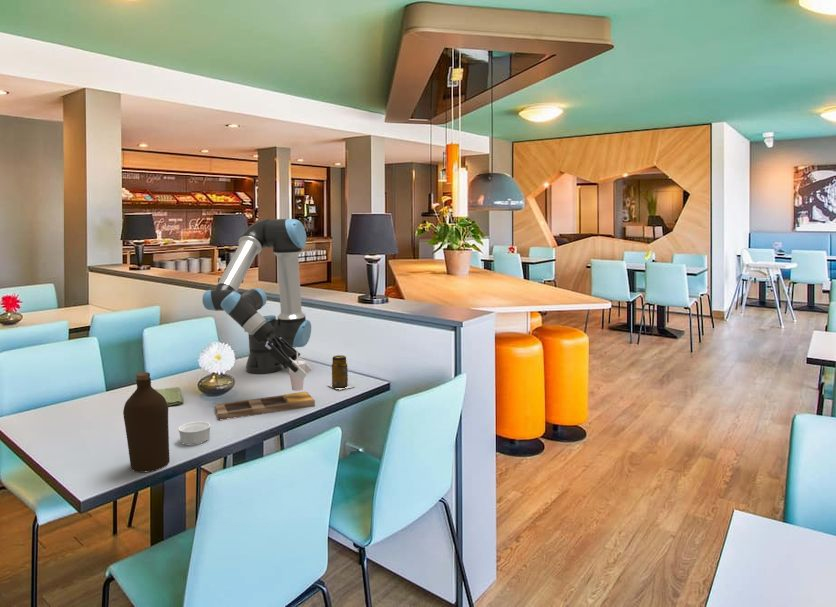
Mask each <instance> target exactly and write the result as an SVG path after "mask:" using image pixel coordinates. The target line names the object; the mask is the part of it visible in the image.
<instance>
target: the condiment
mask: <svg viewBox="0 0 836 607" xmlns="http://www.w3.org/2000/svg"><path fill="white" fill-rule="evenodd" d="M348 369H349V368H348V363H347V356H345V355H342V354H341V355H339V354H338V355H334V356H333V357H332V364H331V385H332V387H333V388H332V389H334V388H345V387H347V386H348V385H349V384H348V382H349V379H348V376H349V375H348V374H349V373H348ZM334 390H336V391H341V390H339V389H334Z"/></svg>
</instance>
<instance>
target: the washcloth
mask: <svg viewBox="0 0 836 607" xmlns="http://www.w3.org/2000/svg"><path fill="white" fill-rule="evenodd" d="M154 389H155V390H156V391H157V392H158V393H160V394H161V395H162V396H163V397H164V398H165V400H166V402H167V404H168V407H170V406H177V405H184V402H185V400H184V398H183V395H182V390H181V388H180V387H166V388H160V389H159V388H154Z"/></svg>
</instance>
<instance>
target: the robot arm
mask: <svg viewBox="0 0 836 607" xmlns="http://www.w3.org/2000/svg"><path fill="white" fill-rule="evenodd" d="M306 243H307V233H306V229H305V226H304V224H303V223H302V222H301V221H300V220H298V219H293V218H276V219H275V218H274V219H272V218H271V219H269V218H265V219H259V220H258V221H256V222H254V223H253V224H251V225H250V226H249V227H248V228H247V229H246V230H244V232H242V234H241V236H240V238H239V240H238V243H237V244H238V246H237V248H236V250H235V252H234V253H233V255H232V258H230V260H229V263H228V264H227V266H226V268H225V270H224V272H223V274H222V275H221V276H220V278H219V281H218V282H217V283H216V286H215V287H214V289H209V290H208V289H207V290H206V291H204V293H203V295H202V297H201V298H202V305H203V306H204V308H205V309H206V310H208V311H216V312H218V311H219V312H220V311H222V312H223V311H224V312H225V313H226V315H228V316H229V317H230V318H232V319H233V320H234V321H235V323H237V324H238V325H239V326H240V327H241V328H242V329H243V330H244V332H245V333H248V348H249V354H248V357H247V361H246V365H245V371H246V372H247V373H250V374H259V375H260V374H262V375H263V374H270V373H275V372H279V371H281V370H282V369H283V368H284V369H288V370H289V369H290V370H292V371H293V372H294V373H295V374H296V375H297V376H298V377H299V378H300V379H301V380H302V379H303V378H304V379H305V377H307V375H308V374H309V373H310V372H311V371H312V370H313V368H312V367H311V366H310V365H309V364H308V363H307V362H306V365H305V371H304V370H302V369H301V368H300V367H299V366H298V365H297V364H296V363H295V362H293V363H292V361H297V349H295V348H304V347H305V346H307V344H308V342H309V340H310V338H311V333H312V324H311V321H310V320H308V319H306V313H304V312H303V310H302V296H301V295H302V294H301V281H300V278H301V277H300V262H299V255H300V254H301V253H302V249H303V248H305V246H306ZM265 248H272V252H273V254H274V255H275V256H276V260H277V275H278V288H279V289H278V292H279V302H280V303H279V304H280V312H279V314H278V316H276V315H273V314H272V315H262V314H261V313H260V312H259V310H261V309H262V308H263V307H264V306H265V305H266V304H267V301H268V300H267V299H268V297H267V295H266V293H265V291H264V290H263V289H261V288H258V287H257V288H256V287H255V288H251V289H249V290H239V288H240V287H241V284H242V282H243V281H244V279H245V277H246V275H247V273H248V271H249V269H250V267H251V265H252V264H253V262H254V260H255V259H256V256H257V255H259V254H260V253H261V252H262V250H263V249H265ZM298 360H300V361H304V359H303V358H302V357H301V353H300V352H299V351H298Z"/></svg>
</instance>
